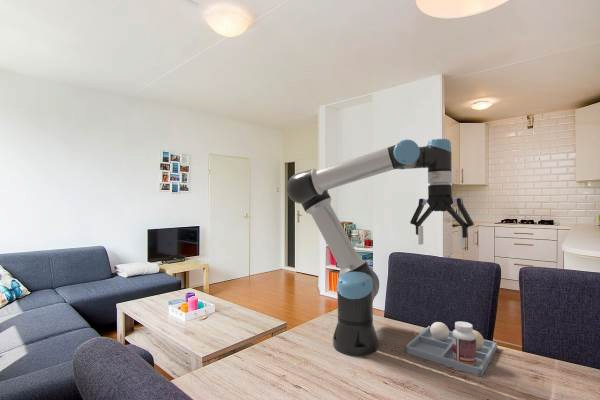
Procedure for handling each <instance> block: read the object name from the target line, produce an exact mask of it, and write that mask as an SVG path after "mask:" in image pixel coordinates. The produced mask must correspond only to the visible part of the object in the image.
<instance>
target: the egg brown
mask: <svg viewBox="0 0 600 400" xmlns="http://www.w3.org/2000/svg"><path fill="white" fill-rule="evenodd" d="M472 332H473V333H474V334H475V335H476V350H479V349H481V348H482V347H483V345H484V340H485V339H484V337H483V335H482V334H481V333H480V332H479V331H477V330H475V329H473V331H472Z"/></svg>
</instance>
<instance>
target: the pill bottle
mask: <svg viewBox="0 0 600 400" xmlns="http://www.w3.org/2000/svg"><path fill="white" fill-rule="evenodd" d="M454 328H455V329H453V331H452V339H453V360H455V361H458V362H462V363H465V364H468V365H472V366H474V365H475V364H476V335H475V334H474V333H473V332H472V331H473V330H474V326H473V324H472V323H470V322H467V321H455V322H454Z"/></svg>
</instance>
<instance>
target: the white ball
mask: <svg viewBox="0 0 600 400" xmlns="http://www.w3.org/2000/svg"><path fill="white" fill-rule="evenodd" d="M449 331H450V329H449V327H448V326H447V325H446V324H445V323H444V322H441V321H435V322H433V323H432V324H431V327H430V333H431V335H432V337H433V338H434V339H436V340H438V341H444V340H446V339H447V338H448V336H449Z"/></svg>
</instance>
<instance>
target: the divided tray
mask: <svg viewBox="0 0 600 400" xmlns="http://www.w3.org/2000/svg"><path fill="white" fill-rule="evenodd" d="M430 327H431V326H430V325H428V326H427V327H425V328H424V329H423V330H422V331H420V333H418V334H417V335H416V336H415V337H414V338H413V339H411V340H410V341H409V342H408V343H407V344H406V345H405V346H404V353H406V354H409V355H411V356H414V357H417V358H418V357H419V358H421V359H424V360H429V361H431V362H434V363H436V364H441V365H443V366H447V367H449V368H453V369H456V370H459V371H463V372H465V373H469V374H471V375H475V376H477V377H482V378H483V375H484V373H485V372H486V370H487V368H488V365H490V364H489V363H490V362H491V360H492V359H493V356H494V354H495V353H496V350H497V349H498V342H496V341H492V340H488V339H484V345H483V347H482V348H481V349H479V350H476V364H475V365H474V366H472V365H468V364H465V363H462V362H458V361H455V360H453V339H452V332H453V331H451V330H449V336H448V338H447V339H446V340H444V341H438V340H436V339H434V338H433V337H432V335H431V333H430Z"/></svg>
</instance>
